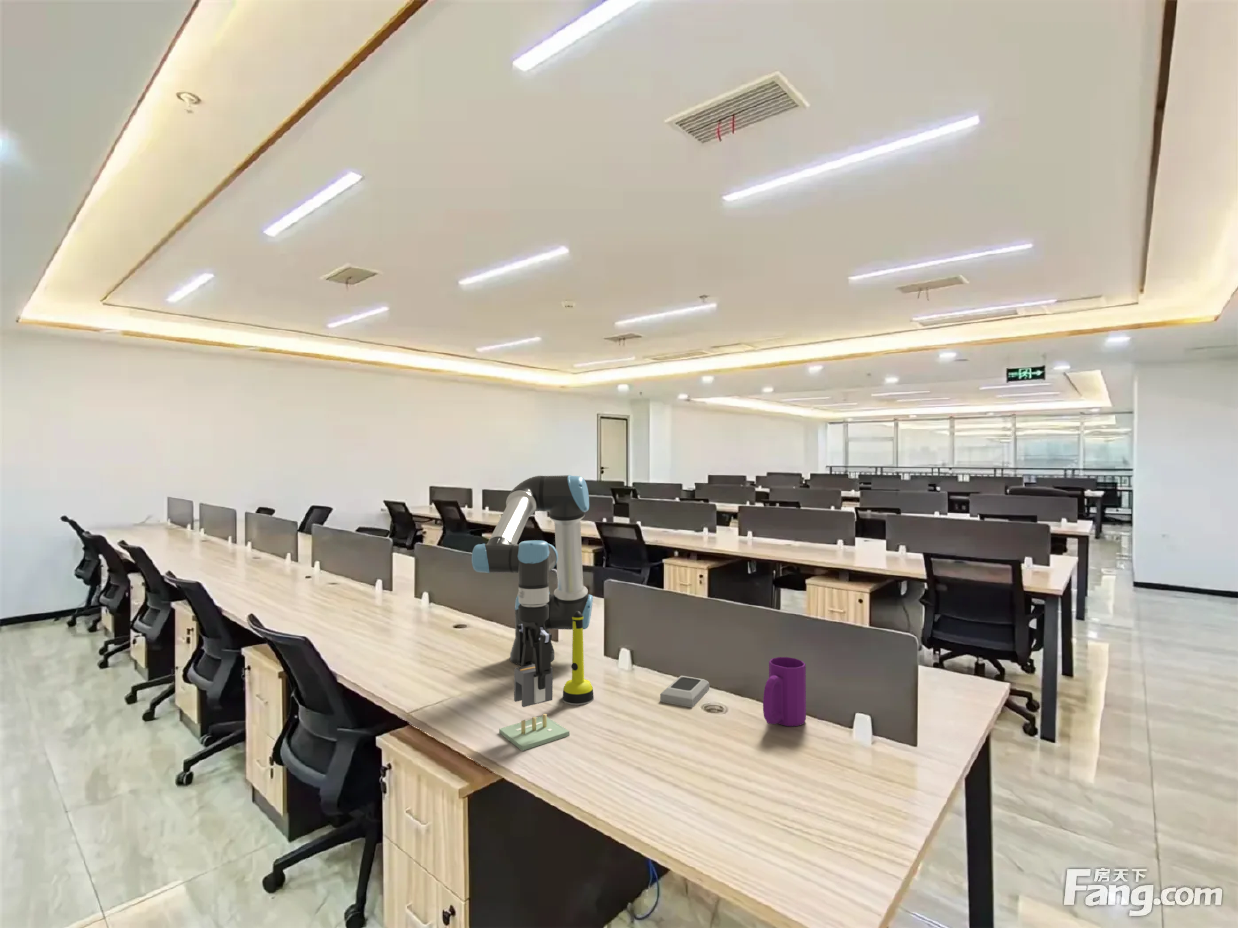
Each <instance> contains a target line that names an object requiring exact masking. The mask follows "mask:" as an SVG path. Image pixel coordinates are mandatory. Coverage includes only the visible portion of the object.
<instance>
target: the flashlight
mask: <svg viewBox="0 0 1238 928" xmlns="http://www.w3.org/2000/svg"><path fill="white" fill-rule="evenodd" d="M572 619H573V630H572V640H571V641H572V645H571V646H572V647H571V648H572V650H571V651H572V655H571V659H572V660H571V661H572V662H571V667H570V668H571V679H568V680H567V681H566V682H565V683H564V686H563V688H562V689H563V690H562V698H561V699H562V702H563V703H565V704H567V705H572V706H583V705H587V704H590V703H592V702H593V701H594V698H595V697H594V688H593V684H592V683H591V681H590V680H588V679H586V678H585V660H584V658H585V657H584V629H583V619H584V618H583V615H582V614H581V613H580V612H579V611H576V612H575V613H574V615H573V616H572Z"/></svg>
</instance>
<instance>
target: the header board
mask: <svg viewBox="0 0 1238 928" xmlns="http://www.w3.org/2000/svg"><path fill="white" fill-rule="evenodd" d="M547 715H548V714H547V713H544V714H542V715H540V716H536V717H535V716H533V717H532V718H530V719H527V720H525V719H524V720H523V719H522V720H521V721H520V722H517V723H515V724H511V725H507V726H504V727H501V728H500V727H499V734H500V735H501V736H503V737H504V738H506V740H507V741H509V742H510V743H512V745H514V746H515V747H517V748H518V749H519V750H521V751H522V752H523V751H526V750H529V749H533V748H535V747H538V746H541V745H545V744H547V743H551V742H554V741H557V740H560V739H563V738H566V737H569V736H570V730H568V729H566V727H564V726H562V725H560V724H559V723H557V722H556V721H554V720H553V719H552V718H550V717H548V716H547Z"/></svg>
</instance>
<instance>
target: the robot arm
mask: <svg viewBox="0 0 1238 928" xmlns="http://www.w3.org/2000/svg"><path fill="white" fill-rule="evenodd" d="M505 506H506V507H505V509H504V510H503V512H502V514H501V516H500V518H499V520H498V522H497V524H496V526H495V528H494V530H493V531H492V534H491V536H490V538H489V539H488V542H487V543H482V544H480V543H478V544H475V545H474V547H473V549H472V551H471V565H472V568H473V571H475V572H476V573H487V574H500V573H501V574H503V573H505V574H507V573H511V574H518V580H517V581H518V592H517V596H516V598H515V604H514V605H515V606H514V623H515V624H514V627H515V628H514V630H515V631H514V632H515V633H514V634H515V635H514V636H515V637H514V640H513V643H512V647H511V650H510V653H509V656H510V658H509V660H510V662H511V663H512V664H514V665H517V666H518V665H519V666H520V667H523V666H528V665H533V664H535V670H536V674H534V675H533V676H534V703H539V702H543V701H545V676H546V675H547V674H550V673H551V667H552V661H554V660H555V649H554V645H553V642H552V637H553V636H552V633H551V632H550V630H568V631H569V630H572V631H573V619H572V616H573V615H574V613H575V612H576V611H579V612H580V613H581V614H582V615H583V618H584V619H583V630H586V629H588V627H589V626H590V623H591V617H592V610H593V602H594V597H593V595H592V594H589V589H588V587H586V586H585V585H584V578H583V577H584V573H583V554H582V553H583V552H582V551H583V550H582V548H583V547H582V527H581V526H582V525H581V520H582V519H583V518H585V516H586V515H585V514H586V512H588V511H589V509H590V496H589V489H588V483H587V482H586V480H585V478H584V477H582V476H580V475H570V474H568V475H535V476H532V477H529V478H527V479H525V480H522V481H521V482H520V483H519V484H517V485H515V487H514V488H513V489H512V490H510V493H509V494H508V496H507V497H506V501H505ZM535 512H548V514H549V515H548V516H549V519H550V520H551V521H553V522H554V535H555V536H554V537H555V538H554V540H555V541H554V542H555V546H554V545H553V544H550V543H548V542H547V541H545V540H542V539H541V540H538V539H537V540H535V539H534V540H533V539H532V540H524V541H521V542H520V543H519V544H518V542H519V539H520V538H521V536H522V533H523V531H524V528H525V526H526V524H527V522H528V520H529V517H531V516H532V515H533V514H534V513H535ZM555 567H556V571H557V572H556V573H557V574H556V575H557V577H556V578H557V588H555V589H554V591H553V594H550V593H551V592H550V586H549V585H550V583H549V580H550V577H549V575H550V572H551V571H552V570H553V569H554V568H555ZM543 703H544V702H543ZM539 704H540V703H539Z"/></svg>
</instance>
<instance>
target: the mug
mask: <svg viewBox="0 0 1238 928" xmlns="http://www.w3.org/2000/svg"><path fill="white" fill-rule="evenodd" d="M806 670H807V666H806V663H805V662H804V661H803V660H800V659H798V658H795V657H794V658H793V657H787V656H784V657H783V656H778V657H773V658H771V659H769V661H768V678H767V681H766V682H765V686H764V689H763V696H762V697H763V699H762V713H763V717H764V719H765V721H766V723H767V724H769V725H775V724H778V725H781V726H784V727H798V726H803V725H804V723H805V722H806V719H807V690H806V689H807V685H806V683H807V679H806V678H807V675H806V673H807V672H806Z"/></svg>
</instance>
